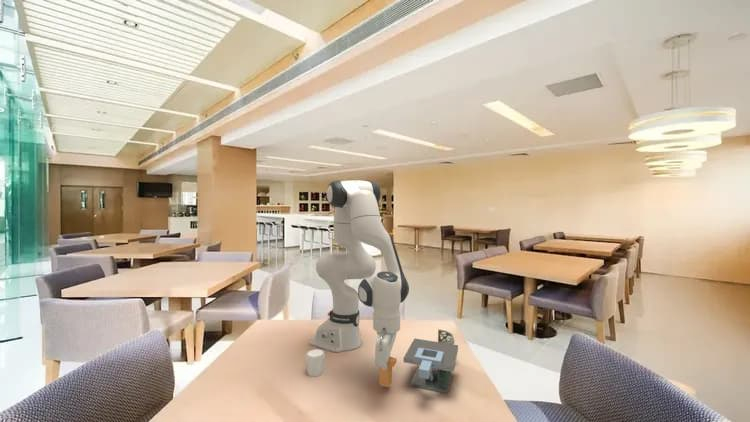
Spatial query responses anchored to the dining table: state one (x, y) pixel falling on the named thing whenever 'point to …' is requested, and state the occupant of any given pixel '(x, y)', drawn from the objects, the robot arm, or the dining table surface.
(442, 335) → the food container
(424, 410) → the dining table surface
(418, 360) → the bracket
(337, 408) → the dining table surface
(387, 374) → the orange t-shaped block
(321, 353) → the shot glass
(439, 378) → the metal plate
